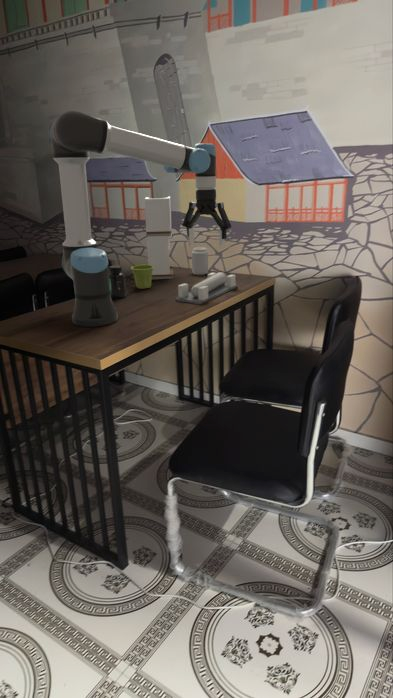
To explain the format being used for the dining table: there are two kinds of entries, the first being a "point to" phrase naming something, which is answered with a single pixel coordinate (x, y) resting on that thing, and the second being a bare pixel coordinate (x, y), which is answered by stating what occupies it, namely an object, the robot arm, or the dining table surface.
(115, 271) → the supplement bottle
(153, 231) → the brown-trimmed grey box
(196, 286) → the tube
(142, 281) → the plant pot
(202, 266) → the can
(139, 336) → the dining table surface
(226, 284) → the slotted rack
